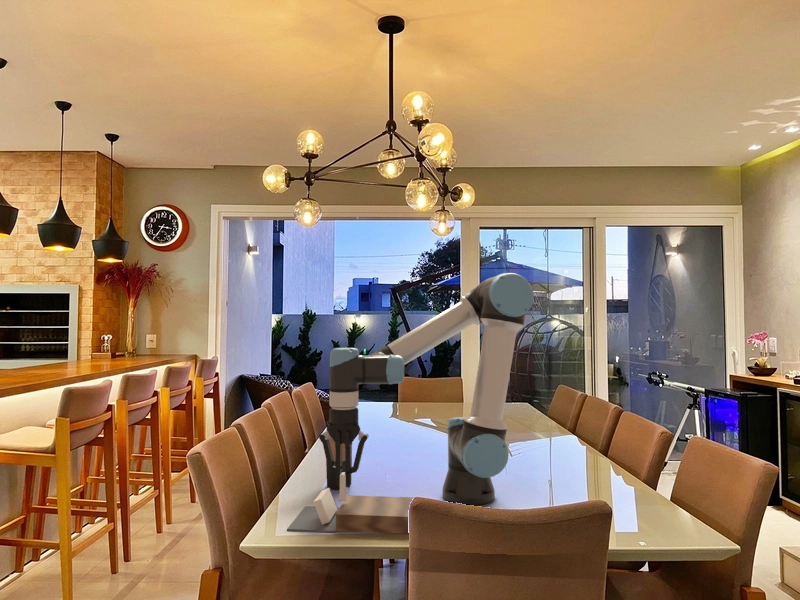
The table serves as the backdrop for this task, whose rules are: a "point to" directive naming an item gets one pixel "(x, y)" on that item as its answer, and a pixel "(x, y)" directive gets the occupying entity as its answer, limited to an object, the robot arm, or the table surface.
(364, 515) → the wooden block
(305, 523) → the mat
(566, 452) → the table surface
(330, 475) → the travel mug
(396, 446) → the table surface
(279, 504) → the table surface
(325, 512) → the tile
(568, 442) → the table surface
